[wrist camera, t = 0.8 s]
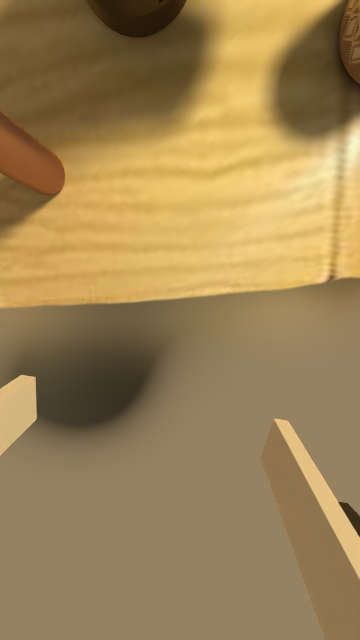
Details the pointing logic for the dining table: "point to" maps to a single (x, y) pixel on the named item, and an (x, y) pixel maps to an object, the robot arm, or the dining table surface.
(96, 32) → the dining table surface
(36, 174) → the beverage can
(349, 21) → the planter
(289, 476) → the robot arm
